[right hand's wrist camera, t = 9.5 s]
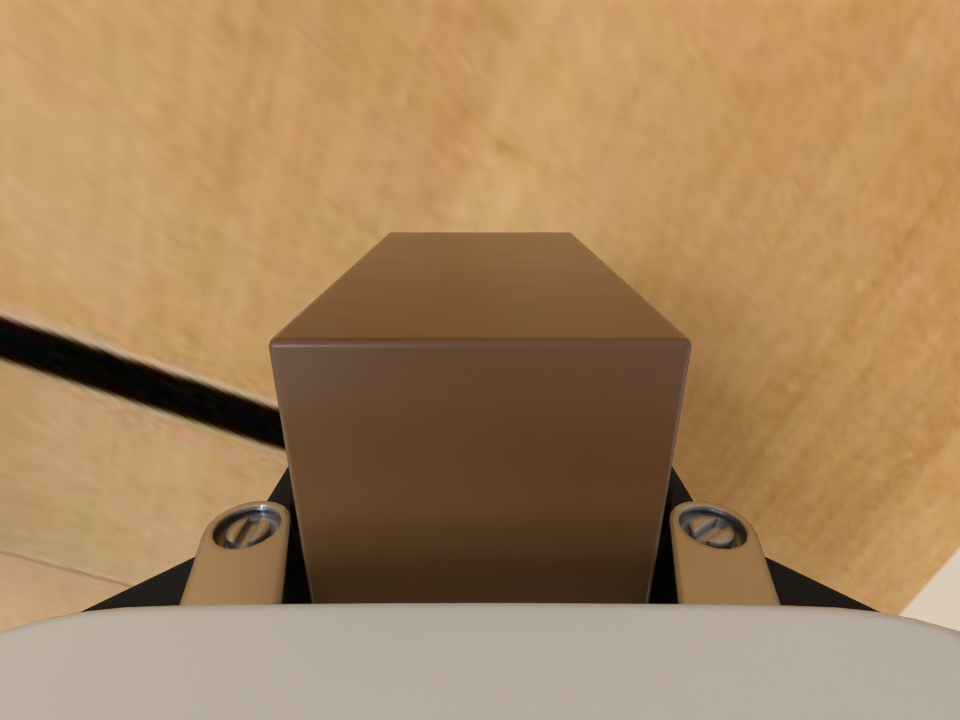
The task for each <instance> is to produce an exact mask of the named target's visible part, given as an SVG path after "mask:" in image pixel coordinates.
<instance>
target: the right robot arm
mask: <svg viewBox="0 0 960 720" xmlns="http://www.w3.org/2000/svg"><path fill="white" fill-rule="evenodd" d="M0 720H960V631H956V630H953V629H949V628H946V627H942V626H938V625H935V624H931V623H928V622H924V621H921V620H917V619H912V618H907V617H902V616H896V615H891V614H885V613H880V612H878V611H876V610H874V609H872V608H870V607H868V606H866V605H864V604H862V603H860V602H858V601H856V600H854V599H851V598H849V597H847V596H845V595H843V594H841V593H839V592H837V591H835V590H833V589H831V588H829V587H827V586H825V585H822V584H820V583H818V582H816V581H814V580H812V579H810V578H808V577H806V576H804V575H802V574H800V573H798V572H796V571H793V570H791V569H789V568H787V567H785V566H783V565H781V564H779V563H777V562H775V561H773V560H771V559H769V558H767V557H764V554H763V551H762V548H761V545H760V542H759V539H758V536H757V533H756V531H755V530H754V528H753V526H752V525H751V524H750V523H749V522H748V521H747V520H746V519H745V518H744V517H743V516H741V515H740V514H738V513H736V512H735V511H733V510H731V509H729V508H726V507H724V506H721V505H718V504H714V503H710V502H702V501H693V500H692V498H691V497H690V495H689V493H688V492H687V490H686V488H685V487H684V485H683V483H682V482H681V480H680V478H679V477H678V475H677V474H676V472H675V470H674V469H673V467H672V466H671V472H670V478H669V484H668V490H667V496H666V502H665V508H664V514H663V521H662V527H661V533H660V539H659V545H658V551H657V557H656V563H655V569H654V575H653V581H652V587H651V593H650V599H649V604H596V603H360V604H311V598H310V592H309V586H308V580H307V574H306V568H305V562H304V556H303V550H302V544H301V538H300V532H299V526H298V520H297V514H296V508H295V502H294V496H293V490H292V484H291V478H290V471H289V466H288V468H287V469H286V471H285V473H284V474H283V476H282V478H281V479H280V481H279V483H278V484H277V486H276V487H275V489H274V491H273V492H272V494H271V496H270V497H269V499H268V501H258V502H250V503H246V504H242V505H239V506H236V507H234V508H231V509H229V510H227V511H225V512H224V513H222V514H220V515H219V516H217V517H216V518H215V519H214V520H213V521H212V522H211V523H210V524H209V525H208V526H207V528H206V530H205V531H204V533H203V536H202V539H201V542H200V545H199V548H198V551H197V554H196V557H194V558H192V559H190V560H188V561H186V562H183V563H181V564H179V565H177V566H175V567H173V568H171V569H169V570H167V571H165V572H163V573H161V574H159V575H157V576H154V577H152V578H150V579H148V580H146V581H144V582H142V583H140V584H138V585H136V586H134V587H132V588H130V589H128V590H125V591H123V592H121V593H119V594H117V595H115V596H113V597H111V598H109V599H107V600H105V601H103V602H101V603H98V604H96V605H94V606H92V607H90V608H88V609H86V610H84V611H82V612H80V613H75V614H69V615H64V616H58V617H53V618H48V619H43V620H39V621H36V622H32V623H29V624H25V625H22V626H18V627H14V628H11V629H7V630H4V631H0Z"/></svg>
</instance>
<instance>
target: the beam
mask: <svg viewBox="0 0 960 720" xmlns="http://www.w3.org/2000/svg"><path fill="white" fill-rule="evenodd" d="M269 351H270V357H271V363H272V369H273V375H274V381H275V387H276V393H277V399H278V405H279V411H280V417H281V423H282V429H283V435H284V441H285V447H286V453H287V459H288V465H289V471H290V478H291V484H292V490H293V496H294V502H295V508H296V514H297V520H298V526H299V532H300V538H301V544H302V550H303V556H304V562H305V568H306V574H307V580H308V586H309V592H310V598H311V604H360V603H596V604H649V599H650V593H651V587H652V581H653V575H654V569H655V563H656V557H657V551H658V545H659V539H660V533H661V527H662V521H663V514H664V508H665V502H666V496H667V490H668V484H669V478H670V472H671V466H672V460H673V454H674V448H675V442H676V436H677V430H678V424H679V418H680V411H681V405H682V399H683V393H684V387H685V381H686V375H687V369H688V363H689V357H690V351H691V343H690V340H689V339H688V338H687V337H686V336H685V335H683V334H682V333H681V332H680V331H679V330H678V329H677V328H676V327H675V326H673V325H672V324H671V323H670V322H669V321H668V320H667V319H666V318H665V317H663V316H662V315H661V314H660V313H659V312H658V311H657V310H656V309H655V308H653V307H652V306H651V305H650V304H649V303H648V302H647V301H646V300H645V299H643V298H642V297H641V296H640V295H639V294H638V293H637V292H636V291H635V290H633V289H632V288H631V287H630V286H629V285H628V284H627V283H626V282H625V281H623V280H622V279H621V278H620V277H619V276H618V275H617V274H616V273H615V272H613V271H612V270H611V269H610V268H609V267H608V266H607V265H606V264H605V263H603V262H602V261H601V260H600V259H599V258H598V257H597V256H596V255H595V254H593V253H592V252H591V251H590V250H589V249H588V248H587V247H586V246H585V245H583V244H582V243H581V242H580V241H579V240H578V239H577V238H576V237H575V236H573V235H572V234H571V233H389V234H388V235H387V236H386V237H385V238H384V239H382V240H381V241H380V242H379V243H378V244H377V245H376V246H375V247H374V248H372V249H371V250H370V251H369V252H368V253H367V254H366V255H365V256H363V257H362V258H361V259H360V260H359V261H358V262H357V263H356V264H355V265H353V266H352V267H351V268H350V269H349V270H348V271H347V272H346V273H345V274H343V275H342V276H341V277H340V278H339V279H338V280H337V281H336V282H335V283H333V284H332V285H331V286H330V287H329V288H328V289H327V290H326V291H325V292H323V293H322V294H321V295H320V296H319V297H318V298H317V299H316V300H315V301H313V302H312V303H311V304H310V305H309V306H308V307H307V308H306V309H304V310H303V311H302V312H301V313H300V314H299V315H298V316H297V317H296V318H294V319H293V320H292V321H291V322H290V323H289V324H288V325H287V326H286V327H284V328H283V329H282V330H281V331H280V332H279V333H278V334H277V335H276V336H274V337H273V338H272V339H271V340H270V344H269Z"/></svg>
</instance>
